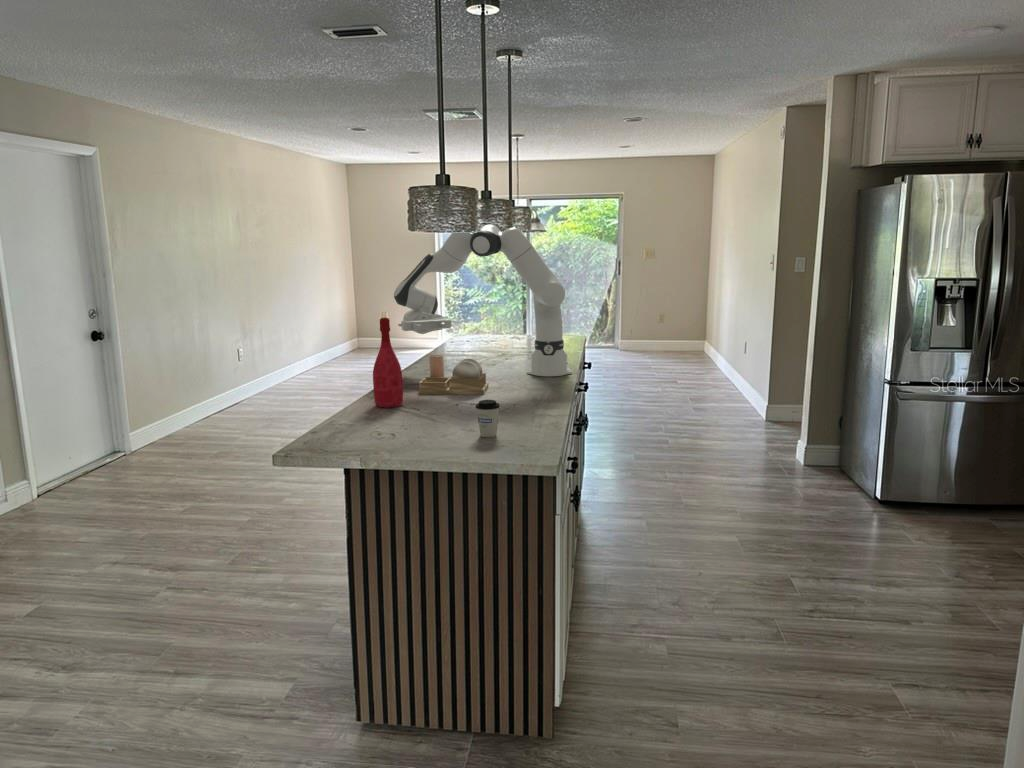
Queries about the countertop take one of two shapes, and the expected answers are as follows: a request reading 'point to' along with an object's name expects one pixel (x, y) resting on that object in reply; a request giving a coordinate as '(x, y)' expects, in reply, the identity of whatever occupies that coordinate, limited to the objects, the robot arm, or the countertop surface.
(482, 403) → the coffee cup
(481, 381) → the rack
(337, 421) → the countertop surface
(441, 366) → the peach rounded cylinder
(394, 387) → the wine bottle
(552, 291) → the robot arm
